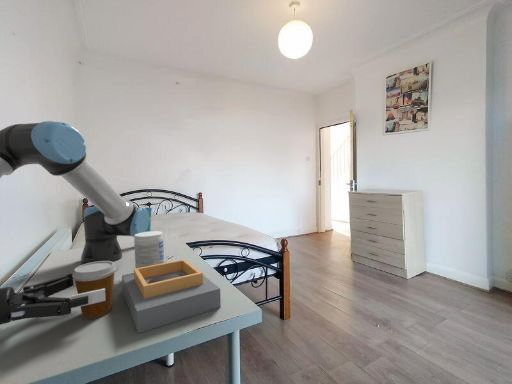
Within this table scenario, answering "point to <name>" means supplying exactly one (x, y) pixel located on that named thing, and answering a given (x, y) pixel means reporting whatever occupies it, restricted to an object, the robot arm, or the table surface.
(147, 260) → the supplement tub
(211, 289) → the grey platform
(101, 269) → the disposable coffee cup
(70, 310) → the robot arm
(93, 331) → the table surface
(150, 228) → the tube
